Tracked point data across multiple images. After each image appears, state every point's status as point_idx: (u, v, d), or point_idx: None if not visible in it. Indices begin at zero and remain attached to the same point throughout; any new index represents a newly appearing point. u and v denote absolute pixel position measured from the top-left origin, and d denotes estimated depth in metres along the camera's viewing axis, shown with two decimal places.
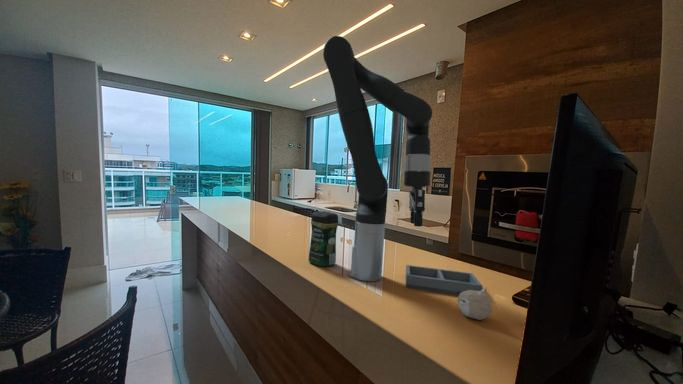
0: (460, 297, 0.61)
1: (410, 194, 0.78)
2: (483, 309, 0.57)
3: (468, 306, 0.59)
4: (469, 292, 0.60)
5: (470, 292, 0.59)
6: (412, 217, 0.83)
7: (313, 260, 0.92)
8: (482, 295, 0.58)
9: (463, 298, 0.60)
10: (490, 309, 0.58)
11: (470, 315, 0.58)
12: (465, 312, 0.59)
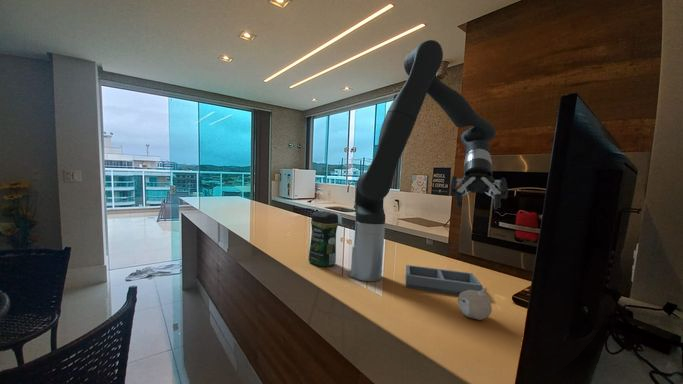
0: (460, 297, 0.61)
1: (482, 178, 0.74)
2: (483, 309, 0.57)
3: (468, 306, 0.59)
4: (469, 292, 0.60)
5: (470, 292, 0.59)
6: (461, 198, 0.73)
7: (313, 260, 0.92)
8: (482, 295, 0.58)
9: (463, 298, 0.60)
10: (490, 309, 0.58)
11: (470, 315, 0.58)
12: (465, 312, 0.59)
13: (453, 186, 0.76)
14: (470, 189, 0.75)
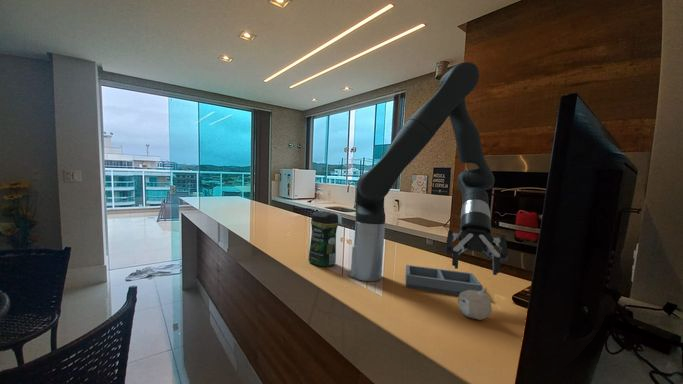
0: (460, 297, 0.61)
1: (481, 236, 0.69)
2: (483, 309, 0.57)
3: (468, 306, 0.59)
4: (469, 292, 0.60)
5: (470, 292, 0.59)
6: None
7: (313, 260, 0.92)
8: (482, 295, 0.58)
9: (463, 298, 0.60)
10: (490, 309, 0.58)
11: (470, 315, 0.58)
12: (465, 312, 0.59)
13: (449, 243, 0.70)
14: (467, 247, 0.69)
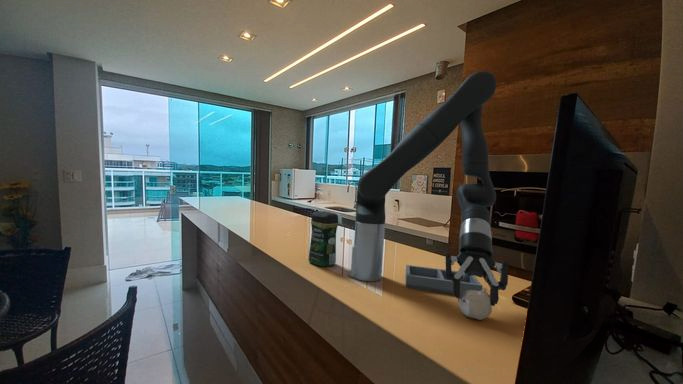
0: (460, 297, 0.61)
1: (481, 260, 0.63)
2: (484, 309, 0.57)
3: (469, 306, 0.58)
4: (469, 292, 0.60)
5: (470, 292, 0.59)
6: (459, 288, 0.61)
7: (313, 260, 0.92)
8: (482, 295, 0.58)
9: (463, 298, 0.60)
10: (490, 309, 0.58)
11: (470, 315, 0.58)
12: (465, 312, 0.59)
13: (449, 269, 0.64)
14: (468, 272, 0.64)
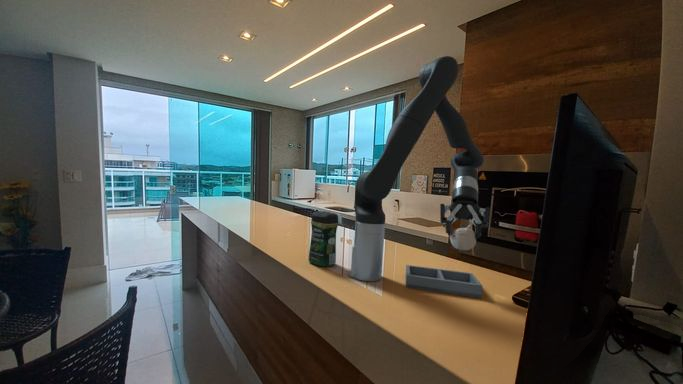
0: (451, 234, 0.76)
1: (468, 206, 0.79)
2: (469, 240, 0.73)
3: (458, 239, 0.74)
4: (458, 229, 0.75)
5: (459, 229, 0.75)
6: None
7: (313, 260, 0.92)
8: (468, 230, 0.73)
9: (453, 234, 0.76)
10: (474, 241, 0.73)
11: (459, 246, 0.74)
12: (455, 244, 0.75)
13: (443, 214, 0.80)
14: (458, 216, 0.79)
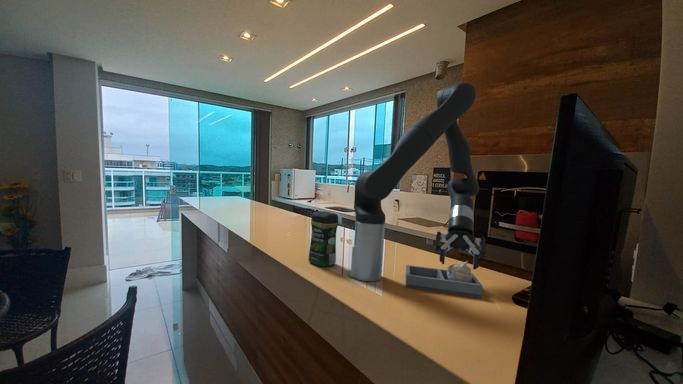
0: (448, 269, 0.79)
1: (464, 236, 0.81)
2: (465, 277, 0.75)
3: (454, 275, 0.76)
4: (454, 265, 0.77)
5: (455, 265, 0.77)
6: (444, 256, 0.79)
7: (313, 260, 0.92)
8: (464, 267, 0.75)
9: (450, 270, 0.78)
10: (470, 277, 0.75)
11: None
12: None
13: (437, 242, 0.82)
14: (453, 246, 0.81)
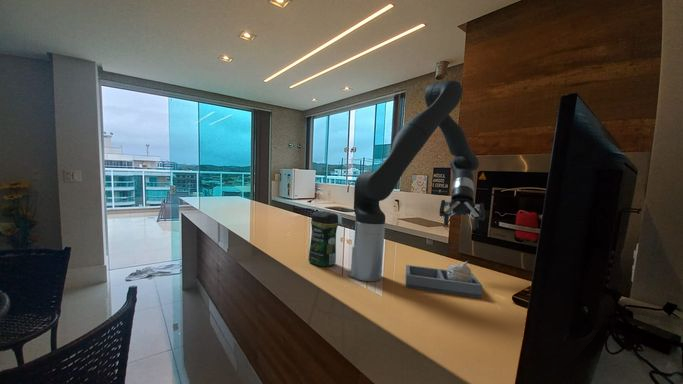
0: (448, 269, 0.79)
1: (465, 202, 0.92)
2: (465, 277, 0.75)
3: (454, 275, 0.76)
4: (454, 265, 0.77)
5: (455, 265, 0.77)
6: (448, 219, 0.91)
7: (313, 260, 0.92)
8: (464, 267, 0.75)
9: (450, 270, 0.78)
10: (470, 277, 0.75)
11: None
12: None
13: (442, 208, 0.94)
14: (455, 211, 0.93)
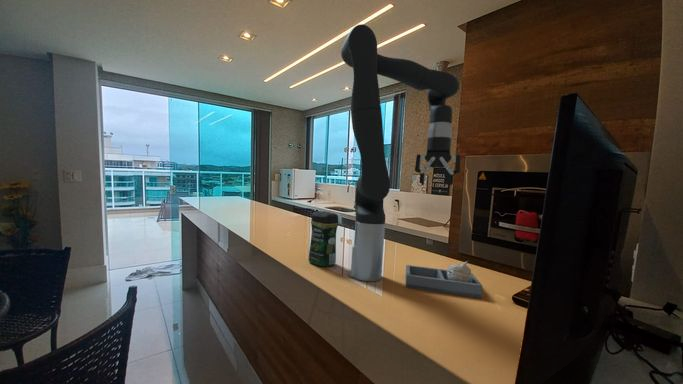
0: (448, 269, 0.79)
1: (441, 158, 0.87)
2: (465, 277, 0.75)
3: (454, 275, 0.76)
4: (454, 265, 0.77)
5: (455, 265, 0.77)
6: (423, 179, 0.91)
7: (313, 260, 0.92)
8: (464, 267, 0.75)
9: (450, 270, 0.78)
10: (470, 277, 0.75)
11: None
12: None
13: (417, 167, 0.91)
14: None
